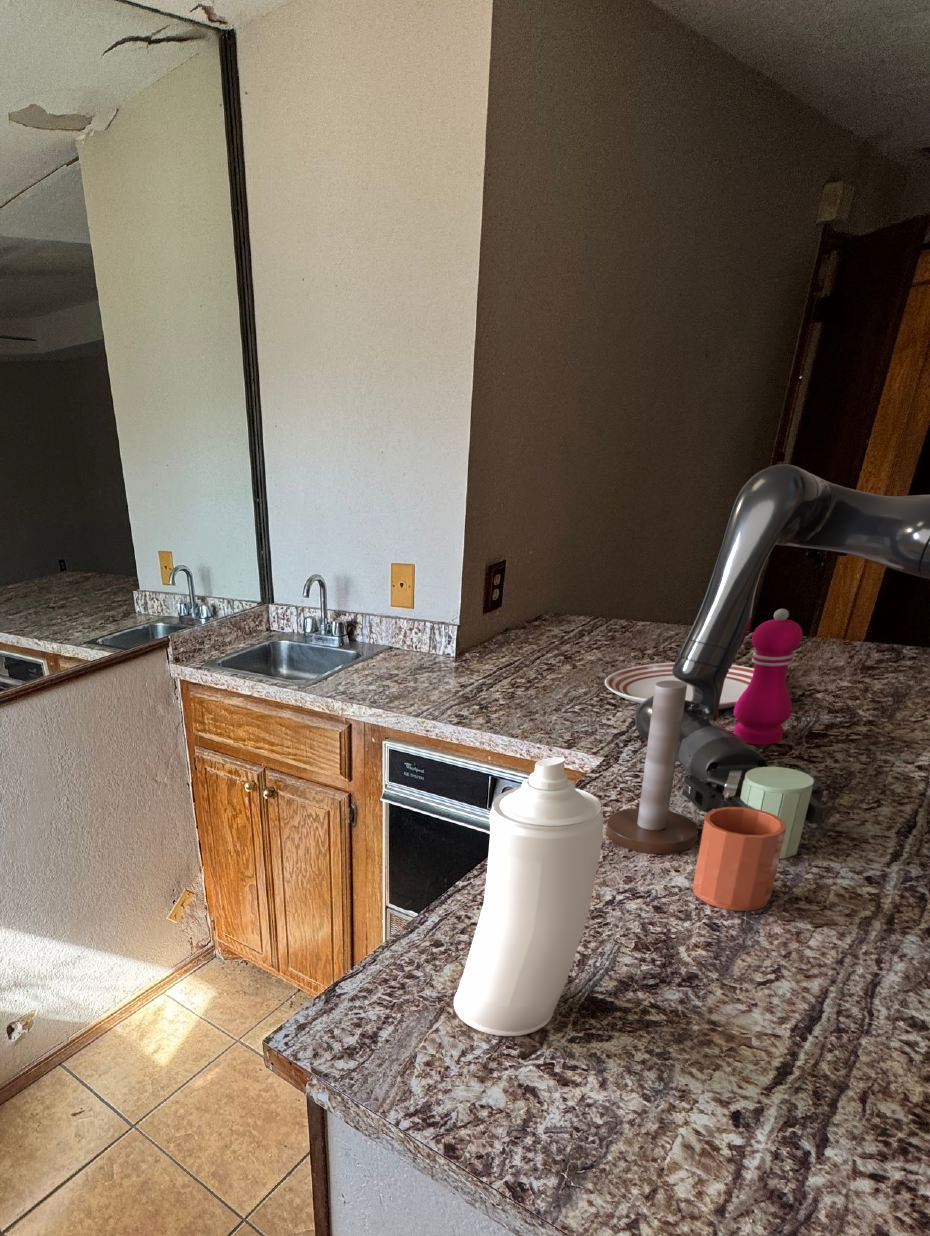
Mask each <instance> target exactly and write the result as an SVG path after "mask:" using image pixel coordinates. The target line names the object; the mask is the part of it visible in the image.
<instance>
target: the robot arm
mask: <svg viewBox="0 0 930 1236" xmlns="http://www.w3.org/2000/svg"><path fill="white" fill-rule="evenodd" d="M775 546H783V547H785V546H786V547H794V548H795V547H796V548H805V549H815V550H822V551H830V552H838V553H843V554H847V555H853V556H856V557H859V558H861V559H864V560H867V561H869V562H872V563H875V564H878V565H880V566H883V567H885V568H889V569H892V570H894V571H898V572H901V573H905V574H909V575H912V576H916V577H920V578H923V579H928V580H930V494H918V495H917V494H916V495H902V496H901V495H900V496H893V495H892V496H891V495H890V496H889V495H882V494H874V493H870V492H865V491H861V490H857V489H854V488H849V487H845V486H842V485H839V484H836V483H832V482H830V481H827V480H825V479H823V478H821V477H820V476H817V475H815V474H813V473H811V472H809V471H807V470H805V469H803V468H801V467H799V466H797V465H792V464H787V463H781V464H780V463H779V464H774V465H769V466H768V467H766V468H763V469H761V470H760V471H758V472H756V473H755V474H754V475H753V476H751V478H750V479H748V481H746V483H745V484H744V485H743V486H742V487H741V489H740V491H739V493H738V495H737V496H736V499H735V501H734V504H733V507H732V510H731V512H730V516H729V518H728V523H727V526H726V530H725V533H724V537H723V540H722V543H721V547H720V550H719V553H718V556H717V559H716V562H715V566H714V568H713V572H712V574H711V578H710V580H709V584H708V587H707V589H706V593H705V595H704V598H703V600H702V602H701V606H700V608H699V610H698V612H697V615H696V618H695V620H694V622H693V624H692V627H691V629H690V630H689V633H688V634H687V636H686V638H685V641H684V642H683V645H682V647H681V649H680V650H679V653H678V656H677V657H676V660H675V662H674V663H675V664H674V666H673V669H672V674H673V676H674V677H675V678H677V679H678V680H680V681H682V682H685V683H686V684H688V685H690V686H691V687H692V690H693V698H692V701H689V700H685V704H684V710H683V717H682V724H681V730H680V737H679V744H678V750H677V757H676V761H678V763H679V764H680V765H681V766H682V767H683V769H684V770H685V772H686V773H687V775H685V776H684V778H683V779H684V781H683V787H682V793H681V794H682V795H683V796H684V797H685V798H686V799H687V800H689V801H690V802H691V803H693V804H694V806H696V807H697V809H699V810H701V812H704V813H708V812H710V811H711V810H713V809H718V808H724V807H746V808H750V807H749V806H748V805H747V804H745V803H744V802H743V801H742V800H741V798H740V797H741V792H742V786H743V781H744V779H745V774H746V773H747V772H748V771H749V770H751V769H755V768H760V767H770V766H769V764H768V762H767V760H766V759H765V757H764V756H763V754H762V753H761V752H759V751H758V750H757V749H755V748H754V747H753V746H751V745H750V743H746V742H745V741H744V740H742V739H741V738H740V737H738V736H737V735H736V734H734V732H732V731H730V730H728V729H726V728H725V727H724V726H722V725H721V724H720V723H718V722H717V720H718V714H719V710H720V709H719V703H720V698H721V694H722V690H723V685H724V682H725V678H726V676H727V674H728V672H729V670H728V669H730V668H731V666H732V665H734V663H735V660H736V658H737V656H738V654H739V653H740V651H741V649H742V646H743V644H744V642H745V639H746V637H747V634H748V631H749V628H750V624H751V619H752V614H753V609H754V602H755V595H756V590H757V587H758V583H759V580H760V577H761V574H762V571H763V569H764V566H765V564H766V561H767V560H768V558H769V556H770V555H771V552H772V550H773V549H774V548H775ZM653 698H654V696H652V697H650V698H648V699H647V700H645V701H644V702H643V703H642V704H641V703H640V705H639V707H638V708H637V710H636V713H635V719H634V723H635V729H636V731H637V733H638V734H639V735H640V737H641V738H642V739H643V740H645V741H646V742H648V737H649V729H650V721H651V714H652V706H653ZM718 709H719V710H718ZM797 770H798V771H801V772H804V773H806V774H808V775H810V776H811V777H812V778H813V779H814V785H813V789H812V793H811V797H810V801H809V805H808V810H807V814H806V818H805V821H806V822H808V823H809V824H819V823H820V822H821V820H822V818H823V815H824V811H825V805H823V804H822V800H823V797H824V793H825V789H826V787H825V786H824V785H823V784H822V783H821V782H820V781H818V780H817V778H815V777H814V776H813V774H811V773H810V772H809V770H806V769H797Z"/></svg>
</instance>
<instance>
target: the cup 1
mask: <svg viewBox="0 0 930 1236" xmlns="http://www.w3.org/2000/svg"><path fill="white" fill-rule="evenodd" d="M785 832H786V825H785V822H784V821H783V820H781V819H780V818H779V817H777V816H776V815H773V814H770V813H768V812H765V811H762V810H757V809H751V808H746V807H724V808H718V809H713V810H711V811H710V812H705V814H704V818H703V824H702V829H701V834H700V841H699V847H698V852H697V856H696V857H697V858H696V864H695V869H694V875H693V883H692V892H693V894H694V895H695V896H696V897H697V899H699V900H701V902H704V903H705V904H708V905H710V906H713V907H716V908H719V909H723V910H727V911H736V912H750V911H757V910H760V909H763V908H764V907H766V906H767V904H769V901H770V899H771V898H772V897H771V896H772V892H773V889H774V888H773V887H774V883H775V879H776V875H777V870H778V865H779V862H780V859H781V858H780V853H781V849H782V845H783V840H784V836H785Z"/></svg>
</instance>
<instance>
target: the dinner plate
mask: <svg viewBox="0 0 930 1236" xmlns="http://www.w3.org/2000/svg"><path fill="white" fill-rule="evenodd" d="M674 664H675V662H662V663H660V662H659V663H651V664H644V665H636V666H633V667H628V668H623V669H621V670H618V671H615V672H613V673H611V674H609V675H608V676H607V677H606V678H605V679H604V685H605V687H606V688H607V689H608V690H609V691H610V692H612V693H614V694H615V695H617V696H619V697H621V698H622V699H623V698H624V699H625V700H628V701H631V702H634V703H638V704H640V705H641V704H642V703H643V702H644V701H645V700H647V699H648V698H650V697H652V696H654V690H655V684H656V683H657V682H660V681H667V680H675V681H680V680H678V679H677V678H675V677H674V676H673V674H672V669H673V666H674ZM728 670H729V672H728V674H727V676H726V678H725V682H724V685H723V690H722V694H721V698H720V703H719V709H718V711H719V710H724V709H729V708H733V707H734V708H735V705H736V703H737V701H738V699H739V697H740V696H741V695H742V693H743V692H744V691H745V690H746V688H747V687H748V685H749V684H750V682H751V679H752V676H753V673H754V667H749V666H743V665H738V664H737V665H736V664H732V666H731V668H730V669H728ZM692 698H693V690H692V687H691V686H690V685H688V684H687V690H686V697H685V700H689V701H692Z"/></svg>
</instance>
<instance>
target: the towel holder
mask: <svg viewBox="0 0 930 1236" xmlns="http://www.w3.org/2000/svg"><path fill="white" fill-rule="evenodd" d="M686 690H687V684H686V683H685V682H682V681H675V680H667V681H660V682H657V683H656V684H655V690H654V698H653V706H652V714H651V721H650V729H649V737H648V741H647V745H646V751H645V752H646V753H645V761H644V768H643V776H642V783H641V791H640V799H639V806H638V807H634V808H633V807H632V808H626V809H622V810H619V811H616V812H614V813H612V814H611V815H610V816H609V817H608V819H607V822H606V829H605V830H606V831H605V832H606V833H605V834H606V836H607V837H608V838H609V840H610V841H611V842H613V843H614V844H616V845H618V846H619V847H621V848H623V849H627V850H630V851H632V852H633V851H634V852H638V853H642V854H643V853H644V854H651V855H670V854H671V855H672V854H676V853H677V854H678V853H682V852H685V851H687V850H689V849H691V848H692V847H694V846H695V844H696V843H697V838H698V832H699V828H698V826H697V824H696V823H695V822H694V820H692V819H691V818H689V817H687V816H685V815H683V814H681V813H678V812H675V811H671V810H669V809H670V802H671V796H672V791H673V783H674V777H675V776H674V775H675V769H676V764H677V759H676V757H677V750H678V744H679V737H680V730H681V724H682V717H683V710H684V704H685V697H686Z"/></svg>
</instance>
